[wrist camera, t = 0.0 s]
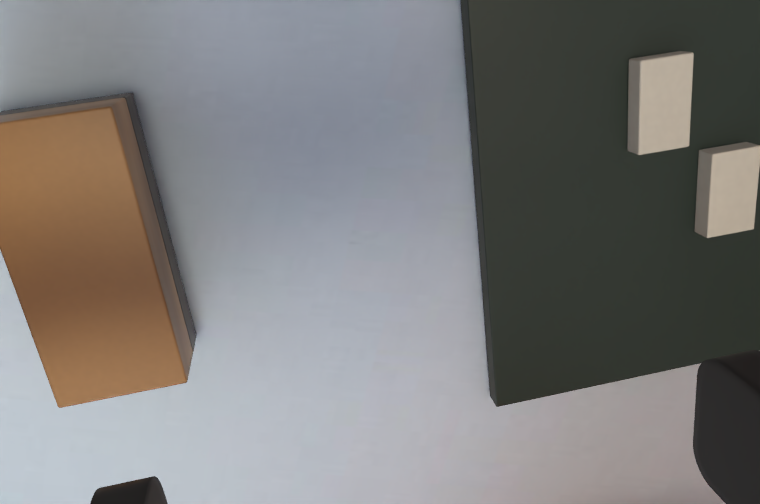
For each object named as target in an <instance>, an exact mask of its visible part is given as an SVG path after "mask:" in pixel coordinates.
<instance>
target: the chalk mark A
mask: <svg viewBox="0 0 760 504" xmlns="http://www.w3.org/2000/svg"><path fill="white" fill-rule="evenodd" d="M693 59H694V53H693V52H685V51H677V52H670V53H664V54H657V55H651V56H644V57H638V58H631V59H629V77H628V147H627V149H628V151H629V152H632V153H635V154H637V155H643V154H649V153H655V152H661V151H666V150H672V149H678V148H684V147H688V146H689V139H690V119H691V99H692V79H693Z"/></svg>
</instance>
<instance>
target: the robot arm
mask: <svg viewBox="0 0 760 504" xmlns="http://www.w3.org/2000/svg"><path fill="white" fill-rule="evenodd" d="M693 449H694V455H695V459H696V462H697V465H698V467H699V470H700V472H701V474H702V476H703V477H704V479H705V481H706V482H707V483H708V485H709V486H710V487H711V488H712V489H713V490H714V491H715V493H716V494H717V495H718V496H719V497H720V498H721V499H722V500H723V501H724V502H725V503H726V504H760V351H758V350H749V351H745V352H740V353H735V354H731V355H726V356H721V357H717V358H712V359H707V360H705V361H703V362H702V363H701V365H700V366H699V369H698V374H697V388H696V404H695V420H694V436H693ZM91 504H167V501H166V497H165V494H164V491H163V488H162V485H161V483H160V481H159V480H158V478H157V477H155V476H153V477H149V478H144V479H139V480H135V481H130V482H125V483H121V484H116V485H111V486H107V487H102V488H98V489H97V490H96V492H95V493H94V495H93V498H92V501H91Z"/></svg>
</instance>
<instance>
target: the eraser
mask: <svg viewBox="0 0 760 504" xmlns="http://www.w3.org/2000/svg"><path fill="white" fill-rule="evenodd" d="M0 249H1V252H2V255H3V258H4V260H5V263H6V266H7V268H8V271H9V274H10V277H11V279H12V282H13V285H14V288H15V290H16V293H17V296H18V298H19V301H20V304H21V307H22V309H23V312H24V315H25V318H26V320H27V323H28V326H29V328H30V331H31V334H32V337H33V339H34V342H35V345H36V348H37V350H38V353H39V356H40V358H41V361H42V364H43V367H44V369H45V372H46V375H47V378H48V380H49V383H50V386H51V388H52V391H53V394H54V397H55V399H56V402H57V405H58V407H59V408H61V407H66V406H71V405H77V404H82V403H87V402H92V401H97V400H102V399H107V398H112V397H117V396H122V395H127V394H132V393H137V392H142V391H147V390H152V389H157V388H162V387H167V386H172V385H177V384H182V383H186V382H187V380H188V375H189V370H190V365H191V359H192V354H193V351H194V346H195V340H196V333H195V329H194V325H193V322H192V318H191V314H190V310H189V306H188V302H187V299H186V295H185V291H184V287H183V283H182V279H181V276H180V272H179V268H178V264H177V260H176V256H175V253H174V249H173V245H172V241H171V237H170V234H169V230H168V226H167V222H166V218H165V214H164V211H163V207H162V203H161V199H160V195H159V191H158V188H157V184H156V180H155V176H154V172H153V168H152V165H151V161H150V157H149V153H148V149H147V145H146V142H145V138H144V134H143V130H142V126H141V122H140V119H139V115H138V111H137V107H136V103H135V100H134V96H133V93H124V94H117V95H110V96H103V97H97V98H90V99H83V100H76V101H69V102H63V103H56V104H49V105H42V106H35V107H29V108H22V109H15V110H8V111H1V112H0Z"/></svg>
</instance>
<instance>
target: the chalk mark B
mask: <svg viewBox="0 0 760 504" xmlns="http://www.w3.org/2000/svg"><path fill="white" fill-rule="evenodd" d="M759 167H760V145H756V144H753V143H749V142H742V143H736V144H730V145H725V146H719V147H713V148H707V149H702V150H699V158H698V176H697V194H696V212H695V230H694V231H695V232H696V233H698V234H700V235H702V236H704V237H706V238H710V237H716V236H721V235H726V234H731V233H737V232H742V231H747V230H752V229H754V222H755V211H756V200H757V189H758V178H759Z"/></svg>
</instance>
